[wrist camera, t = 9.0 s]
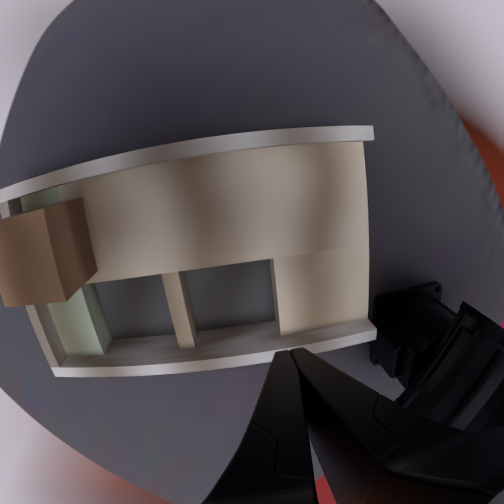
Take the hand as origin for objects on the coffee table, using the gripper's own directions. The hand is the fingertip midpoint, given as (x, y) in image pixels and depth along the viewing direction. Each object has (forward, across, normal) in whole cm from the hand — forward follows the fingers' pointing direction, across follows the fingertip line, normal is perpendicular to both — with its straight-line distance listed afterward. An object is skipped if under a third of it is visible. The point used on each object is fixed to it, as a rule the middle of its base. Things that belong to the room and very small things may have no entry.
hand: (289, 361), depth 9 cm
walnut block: (+9, +12, -3) cm, 15 cm away
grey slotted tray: (+12, +4, -1) cm, 13 cm away
